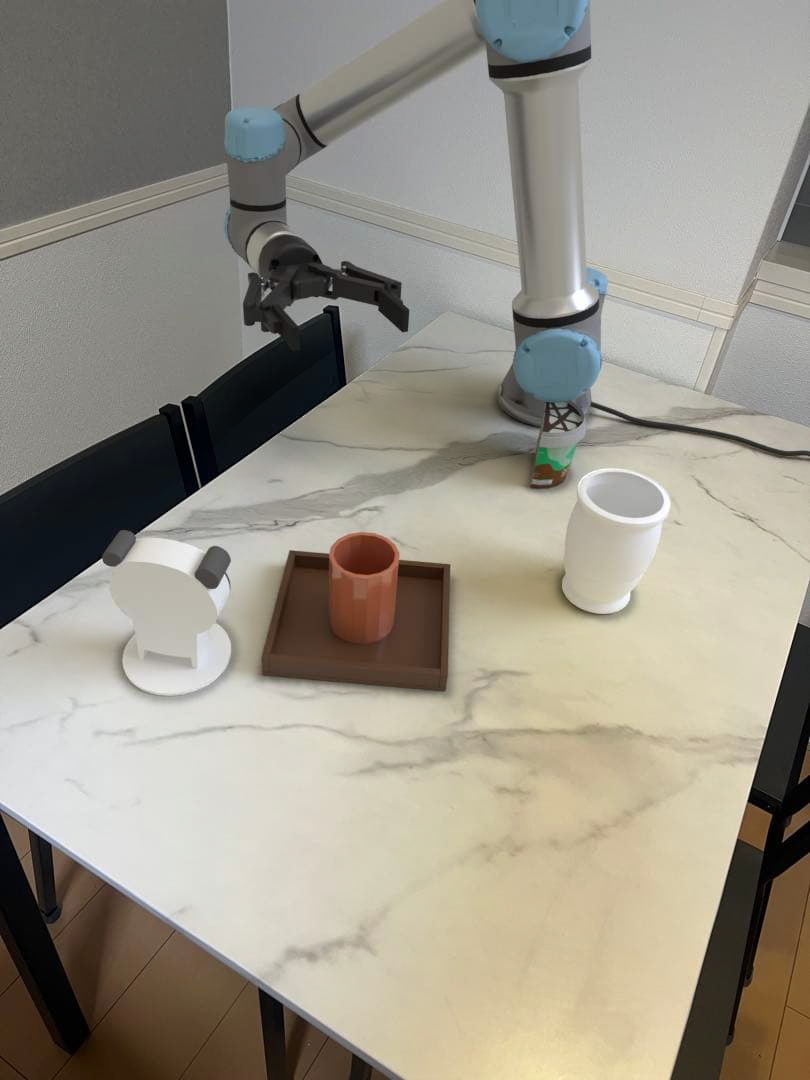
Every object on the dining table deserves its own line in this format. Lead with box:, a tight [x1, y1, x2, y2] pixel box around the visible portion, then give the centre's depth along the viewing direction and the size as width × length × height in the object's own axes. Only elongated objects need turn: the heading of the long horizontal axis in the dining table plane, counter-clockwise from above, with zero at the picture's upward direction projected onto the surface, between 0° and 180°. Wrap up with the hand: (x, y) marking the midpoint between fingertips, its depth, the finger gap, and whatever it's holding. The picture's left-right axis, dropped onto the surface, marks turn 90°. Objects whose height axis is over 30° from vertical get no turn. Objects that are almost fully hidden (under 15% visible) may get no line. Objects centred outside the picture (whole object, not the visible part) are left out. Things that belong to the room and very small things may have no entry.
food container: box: [530, 400, 587, 490], centre depth 115 cm, size 12×6×10 cm, turn 168°
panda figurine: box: [101, 529, 232, 697], centre depth 82 cm, size 12×11×15 cm
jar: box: [561, 467, 672, 615], centre depth 94 cm, size 11×10×15 cm
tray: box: [260, 549, 451, 692], centre depth 91 cm, size 20×18×3 cm
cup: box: [328, 531, 400, 644], centre depth 88 cm, size 7×7×10 cm
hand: (352, 330), depth 90 cm, fingers open, 13 cm apart
